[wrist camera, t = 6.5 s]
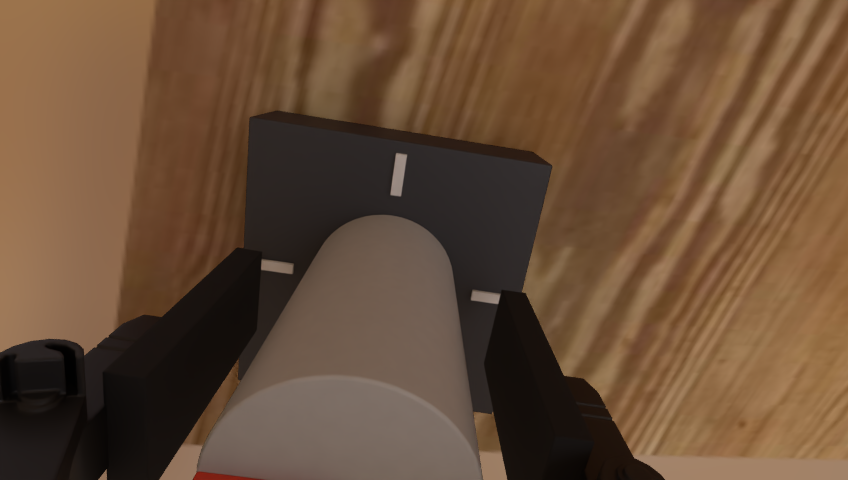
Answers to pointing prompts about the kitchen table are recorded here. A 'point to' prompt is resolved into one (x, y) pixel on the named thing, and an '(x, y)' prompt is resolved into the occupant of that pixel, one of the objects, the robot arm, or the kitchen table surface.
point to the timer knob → (357, 371)
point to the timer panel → (391, 212)
